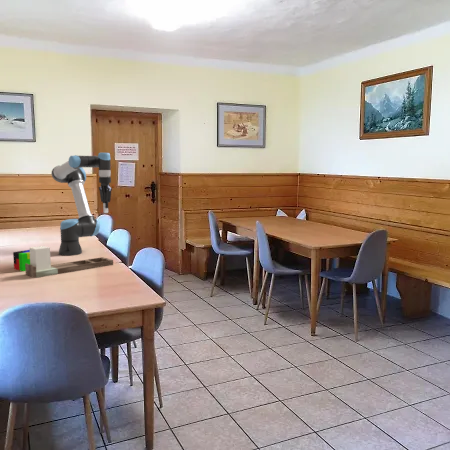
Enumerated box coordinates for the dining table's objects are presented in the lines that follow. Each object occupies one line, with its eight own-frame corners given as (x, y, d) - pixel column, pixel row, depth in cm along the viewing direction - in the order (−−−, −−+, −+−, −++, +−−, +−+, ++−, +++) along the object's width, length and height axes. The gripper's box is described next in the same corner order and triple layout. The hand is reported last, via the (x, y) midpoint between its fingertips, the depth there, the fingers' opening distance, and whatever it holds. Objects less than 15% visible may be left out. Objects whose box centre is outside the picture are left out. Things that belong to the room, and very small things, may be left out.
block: (30, 268, 254) (29, 247, 252) (44, 266, 259) (43, 245, 258) (36, 271, 248) (35, 249, 247) (50, 269, 254) (49, 247, 252)
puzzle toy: (30, 266, 275) (29, 249, 274) (39, 268, 269) (38, 251, 267) (14, 268, 267) (13, 252, 266) (22, 271, 261) (21, 254, 260)
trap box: (25, 274, 254) (25, 263, 253) (103, 261, 288) (102, 252, 287) (34, 278, 246) (34, 267, 245) (113, 264, 279) (112, 255, 278)
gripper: (115, 176, 294) (116, 213, 297) (104, 176, 303) (105, 211, 306) (104, 177, 289) (106, 214, 292) (94, 176, 298) (95, 212, 301)
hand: (105, 212), depth 299 cm, fingers closed
